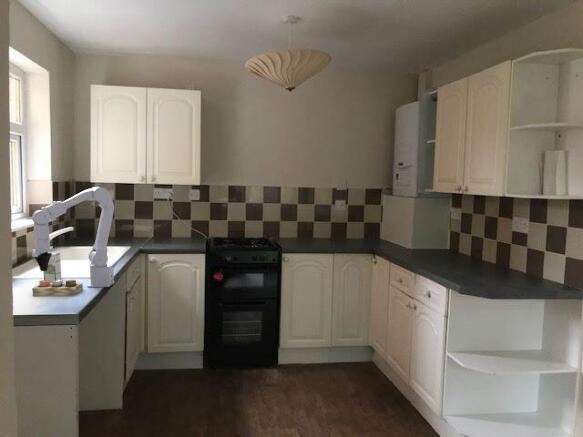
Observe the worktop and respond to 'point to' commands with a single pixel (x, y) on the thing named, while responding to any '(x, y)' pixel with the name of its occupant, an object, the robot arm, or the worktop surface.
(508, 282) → the worktop surface
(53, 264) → the syrup box
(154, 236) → the worktop surface
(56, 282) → the steel button
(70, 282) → the walnut button
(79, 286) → the light wooden flat frame
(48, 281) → the terracotta button
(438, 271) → the worktop surface
